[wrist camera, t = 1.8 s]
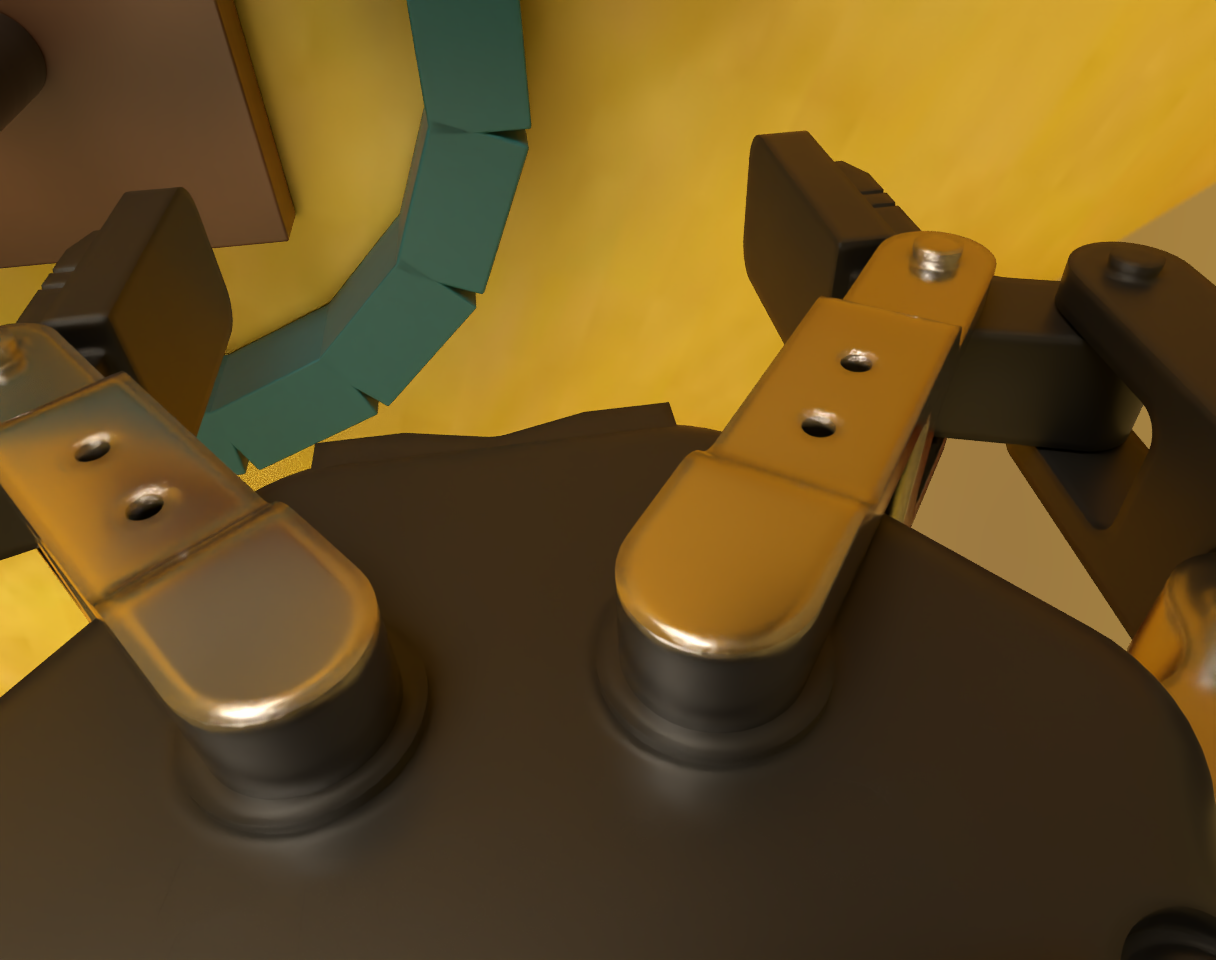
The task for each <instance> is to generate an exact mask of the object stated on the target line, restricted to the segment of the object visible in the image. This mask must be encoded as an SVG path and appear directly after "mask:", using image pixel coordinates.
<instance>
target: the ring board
mask: <svg viewBox="0 0 1216 960" xmlns="http://www.w3.org/2000/svg"><path fill="white" fill-rule="evenodd" d="M173 187H183V188H185V189H186V190H187V191H188V192H189V193H190V195H191V197H192V198H193V200H194V202H195V204H196V207H197V209H198V212H199V215H200V217H201V220H202V223H203V225H204V228H205V231H206V234H207V236H208V239H209V242H210V245H211V247H212V248H220V247H231V246H241V245H252V244H262V243H273V242H283V241H288V240H289V237H290V233H291V230H292V226H293V223H294V219H295V215H296V214H295V210H294V207H293V203H292V200H291V196H290V193H289V189H288V186H287V183H286V179H285V176H284V172H283V169H282V165H281V162H280V159H279V155H278V152H277V148H276V145H275V141H274V138H273V135H272V131H271V128H270V124H269V121H268V117H267V114H266V111H265V107H264V104H263V100H262V97H261V93H260V90H259V87H258V83H257V80H256V76H255V73H254V69H253V66H252V62H251V59H250V56H249V52H248V49H247V45H246V42H245V38H244V35H243V32H242V28H241V25H240V21H239V18H238V14H237V11H236V8H235V4H234V1H233V0H0V268H9V267H19V266H30V265H41V264H51V263H57V262H58V261H59V259H60V258H61V256H62V255H63V254H64V252H65V251H66V249H68V248H69V247H71V246H72V245H74V244H75V243H77V242H78V241H80V240H81V239H83V238H84V237H85V236H87V235H88V234H90V233H91V232H93V231H96V230H100V229H101V228H102V226H103V225H104V223H105V222H106V220H107V218H108V217H109V215H110V214H111V212H112V211H113V209H114V208H115V206H116V205H117V203H118V202H119V200H120V198H121V197H122V195H123V194H124V193H125V192H129V191H140V190H151V189H162V188H173Z"/></svg>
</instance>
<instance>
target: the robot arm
mask: <svg viewBox="0 0 1216 960" xmlns="http://www.w3.org/2000/svg"><path fill="white" fill-rule="evenodd" d="M743 248H744V260H745V266H746V271H747V274H748V277H749V279H750V281H751V283H752V285H753V287H754V289H755V291H756V293H757V294H758V296H759V298H760V300H761V302H762V304H763V306H764V307H765V309H766V311H767V313H768V315H769V317H770V319H771V320H772V322H773V324H774V326H775V328H776V330H777V332H778V333H779V335H780V337H781V339H782V341H783V343H784V346H783V348H782V349H781V350H780V352H779V353H778V355H777V356H776V357H775V359H774V360H773V361H772V363H771V364H770V366H769V367H768V368H767V370H766V371H765V373H764V374H763V375H762V377H761V378H760V380H759V381H758V382H757V384H756V385H755V387H754V388H753V389H752V391H751V392H750V394H749V395H748V396H747V398H746V399H745V401H744V402H743V403H742V405H741V406H740V408H739V409H738V410H737V412H736V413H735V415H734V416H733V417H732V419H731V420H730V422H729V423H728V424H727V426H726V427H725V429H724V430H723V431H722V432H721V431H716V430H712V429H707V428H701V427H694V426H686V425H676V422H675V419H674V416H673V413H672V410H671V407H670V404H669V402H666V403H658V404H649V405H641V406H632V407H623V408H615V409H606V410H598V411H589V412H583V413H579V414H576V415H572V416H569V417H565V418H562V419H558V420H555V421H551V422H548V423H544V424H541V425H538V426H534V427H531V428H527V429H524V430H520V431H517V432H513V433H510V434H506V435H502V436H496V437H478V436H457V435H436V434H416V433H400V434H391V435H383V436H374V437H365V438H357V439H348V440H340V441H331V442H322V443H315V448H314V454H313V460H312V466H311V469H307V470H304V471H300V472H298V473H295V474H292V475H290V476H287V477H284V478H282V479H279V480H277V481H275V482H273V483H271V484H269V485H266V486H264V487H262V488H260V489H259V490H257V491H255V492H254V491H253V490H252V489H251V488H250V487H249V486H248V485H247V484H246V483H245V482H244V481H243V480H242V479H240V478H239V477H238V476H237V475H236V474H235V473H234V472H233V471H232V470H231V469H230V468H229V467H227V466H226V465H225V464H224V463H223V462H222V461H221V460H220V459H219V458H218V457H217V456H216V455H214V454H213V453H212V452H211V451H210V450H209V449H208V448H207V447H206V446H205V445H204V444H203V443H202V442H200V441H199V440H198V439H197V438H196V437H197V434H198V431H199V428H200V425H201V422H202V419H203V416H204V413H205V410H206V407H207V404H208V401H209V398H210V395H211V392H212V389H213V386H214V383H215V380H216V377H217V374H218V371H219V368H220V365H221V362H222V359H223V356H224V353H225V350H226V347H227V344H228V341H229V338H230V335H231V332H232V322H233V320H232V309H231V303H230V298H229V295H228V291H227V288H226V285H225V283H224V280H223V277H222V274H221V272H220V269H219V266H218V264H217V261H216V258H215V255H214V253H213V250H212V247H211V245H210V242H209V239H208V236H207V234H206V231H205V228H204V225H203V223H202V220H201V217H200V215H199V212H198V209H197V207H196V204H195V202H194V200H193V198H192V197H191V195H190V193H189V192H188V191H187V190H186V189H185V188H183V187H173V188H162V189H151V190H140V191H129V192H125V193H124V194H123V195H122V197H121V198H120V200H119V202H118V203H117V205H116V206H115V208H114V209H113V211H112V212H111V214H110V215H109V217H108V218H107V220H106V222H105V223H104V225H103V226H102V228H101V229H100V230H96V231H93V232H91V233H90V234H88V235H87V236H85V237H84V238H83V239H81V240H80V241H78V242H77V243H75V244H74V245H72V246H71V247H69V248H68V249H66V251H65V252H64V254H63V255H62V256H61V258H60V259H59V261H58V262H57V264H56V265H55V267H54V268H53V273H50V274H49V275H48V277H47V278H46V280H45V281H44V283H43V284H42V290H38V291H37V293H36V294H35V296H34V297H33V299H32V300H31V301H30V303H29V304H28V306H27V307H26V309H25V310H24V312H23V313H22V315H21V316H20V317H19V319H18V320H17V322H16V323H15V324H7V325H2V326H0V560H3V559H6V558H9V557H12V556H15V555H18V554H21V553H24V552H27V551H30V550H33V549H37V551H38V552H39V554H40V555H41V556H42V558H43V559H44V561H45V562H46V564H47V565H48V566H49V568H50V569H51V570H52V572H53V573H54V575H55V576H56V577H57V579H58V580H59V581H60V583H61V584H62V586H63V587H64V588H65V590H66V591H67V592H68V594H69V595H70V597H71V598H72V599H73V601H74V602H75V603H76V605H77V606H78V608H79V609H80V610H81V612H82V613H83V614H84V616H85V617H86V619H87V620H88V621H89V624H88V625H87V626H86V627H84V628H83V629H82V630H81V631H80V632H78V633H77V634H76V635H75V636H74V637H72V638H71V639H70V640H69V641H68V642H66V643H65V644H64V645H63V646H62V647H60V648H59V649H58V650H57V651H56V652H54V653H53V654H52V655H51V656H50V657H48V658H47V659H46V660H45V661H44V662H42V663H41V664H40V665H39V666H38V667H36V668H35V669H34V670H33V671H32V672H30V673H29V674H28V675H27V676H26V677H24V678H23V679H22V680H21V681H20V682H18V683H17V684H16V685H15V686H14V687H12V688H11V689H10V690H9V691H8V692H6V693H5V694H4V695H3V696H2V697H0V960H1216V286H1215V285H1214V284H1212V283H1211V282H1210V281H1209V280H1208V279H1206V278H1205V277H1204V276H1203V275H1202V274H1200V273H1199V272H1198V271H1197V270H1196V269H1194V268H1193V267H1192V266H1191V265H1190V264H1188V263H1187V262H1185V261H1184V260H1182V259H1180V258H1178V257H1177V256H1175V255H1172V254H1170V253H1168V252H1165V251H1162V250H1159V249H1156V248H1153V247H1149V246H1145V245H1140V244H1134V243H1126V242H1099V243H1092V244H1087V245H1084V246H1081V247H1079V248H1077V249H1076V250H1074V251H1073V252H1072V253H1071V254H1070V256H1069V258H1068V261H1067V264H1066V267H1065V270H1064V273H1063V276H1062V279H1061V281H1049V280H1034V279H1018V278H1007V277H999V276H994V272H995V269H996V259H995V257H994V255H993V254H992V253H991V252H990V251H989V250H988V249H987V248H986V247H984V246H983V245H981V244H979V243H977V242H975V241H973V240H971V239H968V238H965V237H962V236H959V235H955V234H950V233H944V232H936V231H921V230H920V229H919V228H918V227H917V226H916V225H915V223H914V222H913V221H912V220H911V219H910V218H909V217H908V216H907V215H906V214H905V213H904V211H903V210H902V209H901V208H900V207H899V206H895V202H894V201H893V199H892V198H891V197H890V196H889V195H888V194H887V193H883V189H882V187H881V186H880V185H879V184H878V183H877V182H876V181H875V180H874V179H873V178H872V177H871V175H870V174H869V173H866V172H864V171H862V170H860V169H858V168H856V167H854V166H852V165H850V164H848V163H846V162H844V161H836V162H834V161H833V160H832V159H831V158H830V157H829V155H828V154H827V153H826V152H825V151H824V150H823V148H822V147H821V146H820V145H819V144H818V143H817V141H816V140H815V139H814V138H813V137H812V136H811V135H810V133H809V132H807V131H796V132H785V133H774V134H763V135H756V136H755V137H754V139H753V142H752V145H751V149H750V157H749V169H748V183H747V197H746V211H745V225H744V240H743ZM1143 405H1144V406H1145V407H1146V409H1147V411H1148V413H1149V416H1150V419H1151V423H1152V442H1151V446H1150V449H1148V448H1147V447H1146V445H1145V444H1144V443H1143V442H1142V441H1141V439H1140V438H1139V437H1138V436H1137V435H1136V434H1135V432H1134V431H1133V430H1132V427H1133V426H1134V423H1135V421H1136V419H1137V417H1138V415H1139V413H1140V410H1141V408H1142V406H1143ZM947 438H954V439H964V440H974V441H985V442H996V443H1005V444H1006V446H1007V450H1008V452H1009V454H1010V456H1011V457H1012V459H1013V460H1014V462H1015V463H1016V465H1017V466H1018V468H1019V469H1020V471H1021V472H1022V474H1023V475H1024V477H1025V478H1026V480H1027V481H1028V483H1029V485H1030V486H1031V488H1032V489H1033V490H1034V492H1035V494H1036V495H1037V497H1038V498H1039V499H1040V501H1041V503H1042V504H1043V506H1044V507H1045V509H1046V510H1047V512H1048V513H1049V515H1050V516H1051V518H1052V519H1053V521H1054V522H1055V524H1056V525H1057V527H1058V528H1059V530H1060V531H1061V533H1062V534H1063V536H1064V537H1065V539H1066V540H1067V542H1068V543H1069V545H1070V546H1071V548H1072V550H1073V551H1074V552H1075V554H1076V556H1077V557H1078V559H1079V560H1080V562H1081V563H1082V565H1083V566H1084V568H1085V569H1086V571H1087V572H1088V574H1089V575H1090V577H1091V578H1092V579H1093V581H1094V583H1095V584H1096V586H1097V587H1098V589H1099V590H1100V592H1101V593H1102V595H1103V596H1104V598H1105V599H1106V601H1107V602H1108V604H1109V605H1110V607H1111V608H1112V610H1113V611H1114V613H1115V615H1116V616H1117V618H1118V619H1119V621H1120V622H1121V623H1122V625H1123V627H1124V628H1125V629H1126V631H1127V633H1128V634H1129V636H1130V637H1131V639H1132V641H1131V643H1130V645H1129V646H1128V648H1127V651H1125V650H1124V649H1123V648H1121V647H1120V646H1119V645H1117V644H1116V643H1115V642H1113V641H1112V640H1111V639H1109V638H1107V637H1106V636H1104V635H1102V634H1101V633H1099V632H1097V631H1096V630H1094V629H1092V628H1091V627H1089V626H1087V625H1085V624H1084V623H1082V622H1080V621H1078V620H1076V619H1075V618H1073V617H1071V616H1069V615H1067V614H1066V613H1064V612H1062V611H1060V610H1058V609H1057V608H1055V607H1053V606H1051V605H1049V604H1047V603H1046V602H1044V601H1042V600H1040V599H1038V598H1036V597H1035V596H1033V595H1031V594H1029V593H1028V592H1026V591H1024V590H1022V589H1020V588H1019V587H1017V586H1015V585H1013V584H1011V583H1010V582H1008V581H1006V580H1004V579H1002V578H1001V577H999V576H997V575H995V574H993V573H992V572H989V571H988V570H986V569H984V568H983V567H981V566H979V565H977V564H975V563H974V562H972V561H970V560H968V559H966V558H965V557H963V556H961V555H959V554H957V553H955V552H954V551H952V550H950V549H948V548H946V547H945V546H943V545H941V544H939V543H937V542H935V541H934V540H932V539H930V538H928V537H926V536H925V535H923V534H921V533H919V532H918V531H916V530H914V529H912V528H911V526H912V524H913V522H914V519H915V517H916V514H917V512H918V509H919V507H920V505H921V502H922V500H923V498H924V495H925V493H926V490H927V488H928V485H929V483H930V481H931V478H932V476H933V474H934V471H935V469H936V466H937V464H938V462H939V459H940V457H941V454H942V452H943V450H944V446H945V443H946V440H947Z"/></svg>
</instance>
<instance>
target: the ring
mask: <svg viewBox="0 0 1216 960" xmlns="http://www.w3.org/2000/svg"><path fill="white" fill-rule="evenodd" d="M406 1H407V7H408V13H409V18H410V24H411V30H412V36H413V42H414V48H415V54H416V59H417V65H418V71H419V77H420V83H421V89H422V95H423V100H424V110H423V114H422V119H421V123H420V127H419V132H418V136H417V140H416V145H415V149H414V154H413V158H412V162H411V167H410V171H409V176H408V180H407V184H406V189H405V193H404V198H403V202H402V206H401V211H400V214H399V215H398V217H397V218H396V219H395V220H394V222H393V223H392V224H391V226H390V227H389V228H388V229H387V231H386V232H385V233H384V234H383V236H382V237H381V238H380V240H379V241H378V242H377V243H376V245H375V246H374V247H373V248H372V250H371V251H370V252H369V254H368V255H367V256H366V257H365V259H364V260H363V261H362V262H361V264H360V265H359V266H358V268H357V269H356V270H355V271H354V273H353V274H352V275H351V276H350V278H349V279H348V280H347V282H346V283H345V284H344V285H343V287H342V288H341V289H340V290H339V292H338V293H337V294H336V296H335V297H334V298H333V299H332V301H331V302H330V303H329V304H328V305H326V306H324V307H322V308H320V309H318V310H316V311H314V312H312V313H310V314H308V315H306V316H304V317H302V318H300V319H298V320H296V321H294V322H292V323H290V324H288V325H286V326H284V327H283V328H281V329H279V330H277V331H275V332H273V333H271V334H269V335H267V336H265V337H263V338H261V339H259V340H257V341H255V342H253V343H251V344H249V345H247V346H245V347H243V348H241V349H239V350H237V351H235V352H233V353H231V354H229V355H224V356H223V359H222V362H221V365H220V368H219V371H218V374H217V377H216V380H215V383H214V386H213V389H212V392H211V395H210V398H209V401H208V404H207V407H206V410H205V413H204V416H203V419H202V422H201V425H200V428H199V431H198V434H197V437H196V438H197V439H198V440H199V441H200V442H202V443H203V444H204V445H205V446H206V447H207V448H208V449H209V450H210V451H211V452H212V453H213V454H214V455H216V456H217V457H218V458H219V459H220V460H221V461H222V462H223V463H224V464H225V465H226V466H227V467H229V468H230V469H231V470H232V471H233V472H234V473H235V474H236V475H240V474H245V473H246V470H247V466H248V462H249V461H250V462H251V463H252V464H253V465H254V466H256V467H257V468H258V469H259V470H261V469H263V468H265V467H267V466H269V465H272V464H274V463H276V462H278V461H280V460H282V459H284V458H286V457H288V456H290V455H293V454H295V453H297V452H299V451H301V450H303V449H305V448H307V447H309V446H311V445H314V444H315V443H318V442H320V441H322V440H324V439H326V438H328V437H330V436H333V435H335V434H337V433H339V432H341V431H343V430H345V429H347V428H349V427H351V426H354V425H356V424H358V423H360V422H362V421H364V420H366V419H368V418H370V417H372V416H375V415H376V414H377V413H378V402H379V401H380V402H381V403H383V404H385V405H387V406H389V405H390V404H391V403H392V402H393V401H394V400H395V399H396V397H397V396H398V395H399V394H400V393H401V392H402V391H403V390H404V388H405V387H406V386H407V385H408V384H409V383H410V382H411V381H412V379H413V378H414V377H415V376H416V375H417V374H418V373H419V372H420V370H421V369H422V368H423V367H424V366H425V365H426V364H427V363H428V361H429V360H430V359H431V358H432V357H433V356H434V355H435V354H436V352H437V351H438V350H439V349H440V348H441V347H442V346H443V345H444V343H445V342H446V341H447V340H448V339H449V338H450V337H451V336H452V335H453V333H454V332H455V331H456V330H457V329H458V328H459V327H460V326H461V324H462V323H463V322H464V321H465V320H466V319H467V318H468V317H469V315H470V314H471V313H472V312H473V311H474V310H475V309H476V293H479V294H483V293H484V292H485V289H486V285H487V282H488V279H489V276H490V272H491V269H492V266H493V263H494V260H495V256H496V253H497V250H498V247H499V243H500V240H501V237H502V234H503V230H504V227H505V224H506V221H507V217H508V214H509V211H510V208H511V205H512V201H513V198H514V195H515V192H516V188H517V185H518V182H519V179H520V175H521V172H522V169H523V166H524V163H525V159H526V156H527V153H528V150H529V147H528V141H527V136H526V131H525V129H530V128H531V115H530V104H529V93H528V82H527V72H526V61H525V50H524V39H523V28H522V17H521V6H520V0H406Z"/></svg>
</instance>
